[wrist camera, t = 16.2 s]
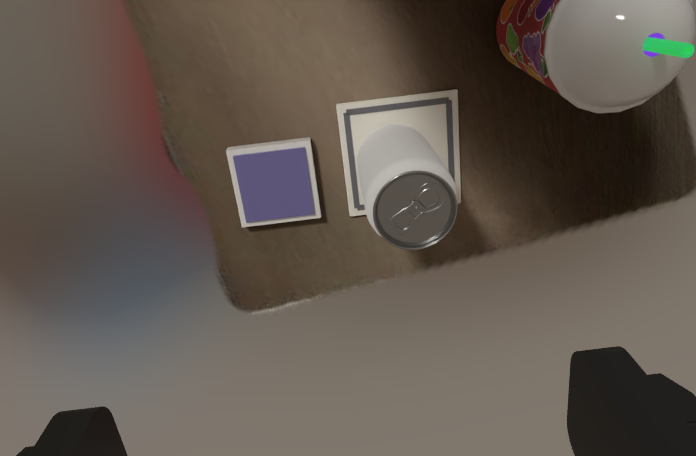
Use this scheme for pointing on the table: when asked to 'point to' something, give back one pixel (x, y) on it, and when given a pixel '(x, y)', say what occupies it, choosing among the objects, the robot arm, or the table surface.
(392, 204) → the can
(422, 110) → the card
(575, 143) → the table surface
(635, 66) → the smoothie
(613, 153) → the table surface
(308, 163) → the ink pad
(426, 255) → the table surface
